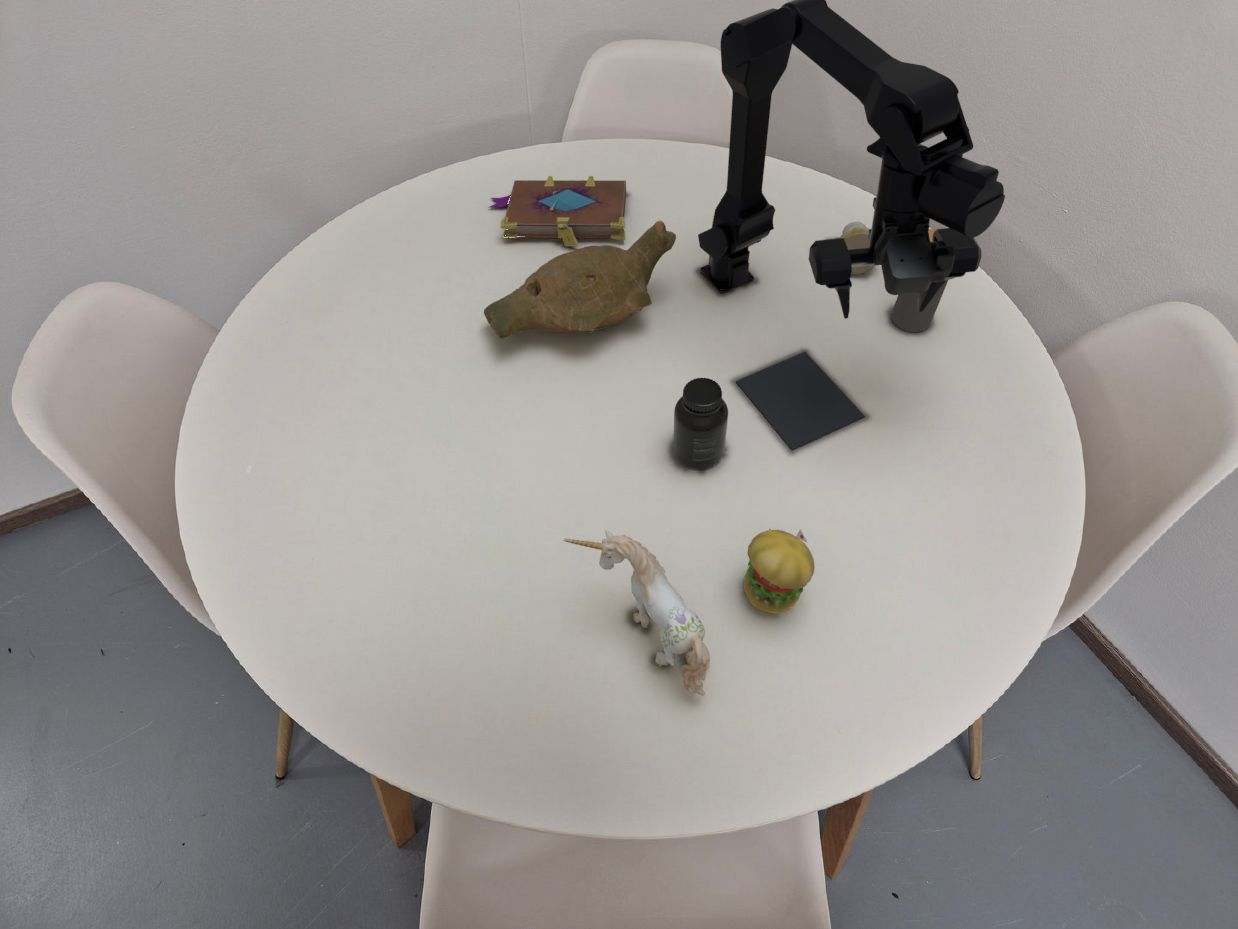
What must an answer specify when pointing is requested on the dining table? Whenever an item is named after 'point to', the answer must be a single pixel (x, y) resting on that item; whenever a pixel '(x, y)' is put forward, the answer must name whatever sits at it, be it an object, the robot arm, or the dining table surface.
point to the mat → (799, 400)
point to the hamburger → (777, 570)
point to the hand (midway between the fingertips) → (882, 313)
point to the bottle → (915, 307)
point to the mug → (856, 241)
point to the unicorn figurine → (659, 606)
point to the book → (565, 209)
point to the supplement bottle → (700, 424)
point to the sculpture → (583, 288)
